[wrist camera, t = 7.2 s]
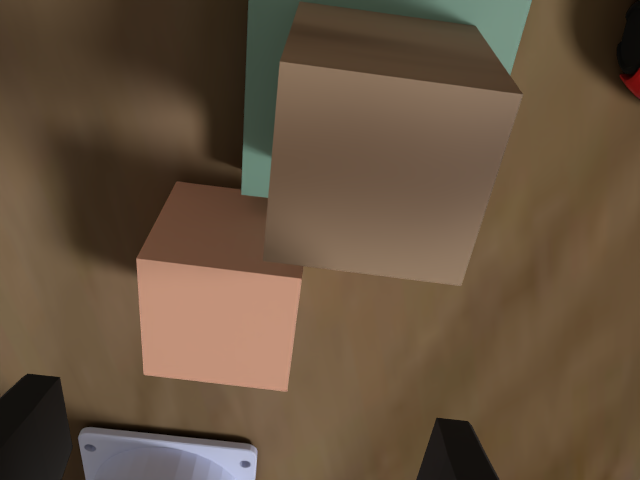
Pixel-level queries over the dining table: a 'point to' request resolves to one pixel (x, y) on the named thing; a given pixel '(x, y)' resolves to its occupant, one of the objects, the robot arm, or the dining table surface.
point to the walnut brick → (385, 143)
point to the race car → (631, 50)
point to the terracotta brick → (215, 292)
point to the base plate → (281, 5)
